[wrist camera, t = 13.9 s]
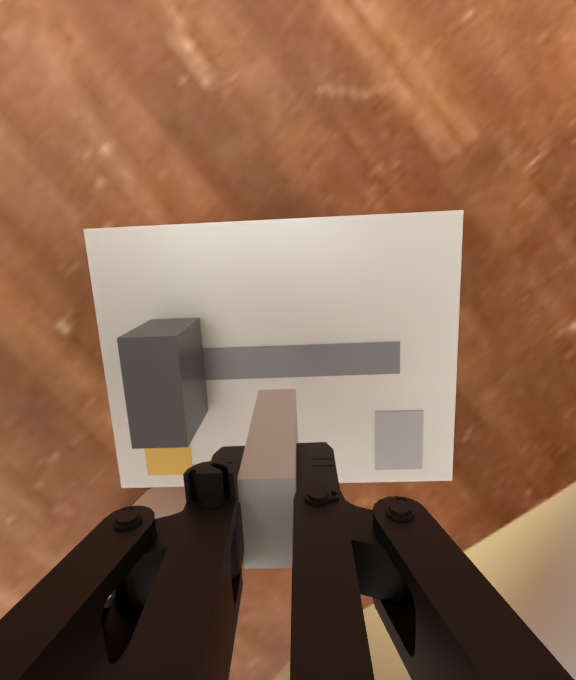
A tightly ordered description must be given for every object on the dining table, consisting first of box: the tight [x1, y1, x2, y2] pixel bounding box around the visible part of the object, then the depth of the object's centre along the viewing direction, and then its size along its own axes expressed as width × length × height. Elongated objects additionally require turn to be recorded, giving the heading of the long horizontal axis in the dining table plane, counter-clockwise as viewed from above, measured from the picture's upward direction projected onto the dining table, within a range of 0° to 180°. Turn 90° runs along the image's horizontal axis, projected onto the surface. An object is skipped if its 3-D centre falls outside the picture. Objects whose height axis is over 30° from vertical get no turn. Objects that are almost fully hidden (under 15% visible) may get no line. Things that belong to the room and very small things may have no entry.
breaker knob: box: [117, 318, 208, 449], centre depth 25 cm, size 6×3×5 cm, turn 3°
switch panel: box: [83, 210, 463, 488], centre depth 30 cm, size 17×22×6 cm
